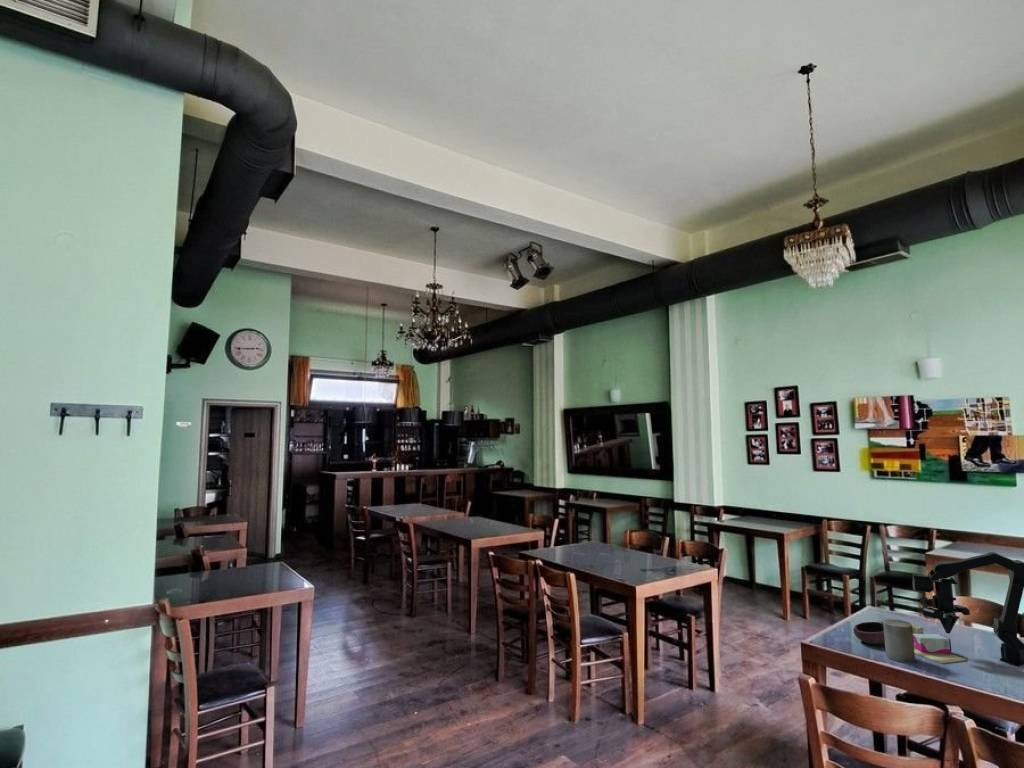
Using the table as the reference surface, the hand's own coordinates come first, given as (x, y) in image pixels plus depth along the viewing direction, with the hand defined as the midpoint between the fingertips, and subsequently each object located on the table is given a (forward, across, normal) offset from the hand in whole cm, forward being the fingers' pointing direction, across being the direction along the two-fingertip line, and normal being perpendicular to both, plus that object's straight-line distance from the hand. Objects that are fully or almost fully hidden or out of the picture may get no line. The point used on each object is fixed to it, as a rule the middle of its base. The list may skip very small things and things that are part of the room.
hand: (947, 633), depth 225 cm
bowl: (+8, +19, -18) cm, 28 cm away
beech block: (+8, +5, -10) cm, 14 cm away
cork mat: (+8, +8, 0) cm, 11 cm away
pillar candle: (+8, +24, -2) cm, 26 cm away
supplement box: (+4, 0, -1) cm, 5 cm away
